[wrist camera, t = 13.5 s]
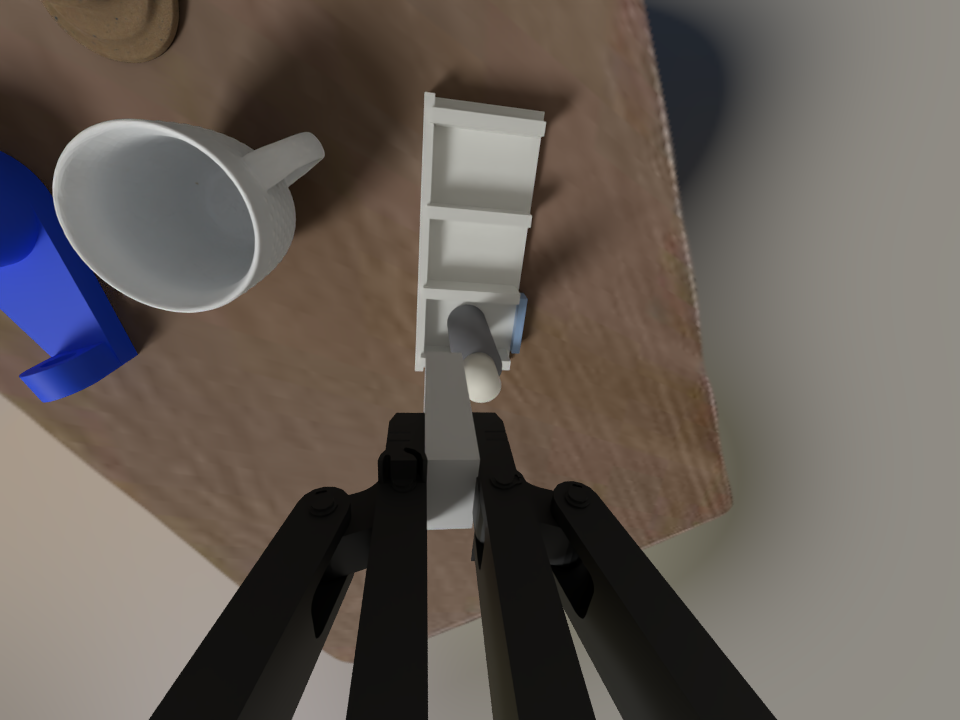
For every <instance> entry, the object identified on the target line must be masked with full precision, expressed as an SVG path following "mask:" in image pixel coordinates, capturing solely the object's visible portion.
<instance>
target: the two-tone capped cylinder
mask: <svg viewBox="0 0 960 720" xmlns="http://www.w3.org/2000/svg"><path fill="white" fill-rule="evenodd" d="M447 327H448V335H449V342H450V350H451V353H462V357H463V363H464V369H465V375H466V381H467V387H468V392H469V398H470V400H472V401H474V402H479V403H484V402H488V401H491V400H492V399H494V398H495V397H496V396H497V395H498V394H499V392H500V390H501V381H500V378H499V376H500V374H501V372H502V361H501V358H500V355H499V353H498V350H497V347H496V345H495V342H494V339H493V337H492V334H491V331H490V329H489V326H488V323H487V321H486V318H485V316H484V314H483V312H482V311H481V310H480V309H479V308H478V307H476V306H474V305H469V304H465V305H460V306H458V307H456V308H455V309H453V310H452V312H451V313H450V314H449V316H448V319H447Z"/></svg>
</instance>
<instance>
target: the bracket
mask: <svg viewBox="0 0 960 720" xmlns="http://www.w3.org/2000/svg"><path fill="white" fill-rule="evenodd" d="M0 309H1V310H2V311H3V312H4V313H5V314H6V315H7V316H8V317H10V318H11V319H12V320H13V321H14V322H15V323H16V324H17V325H18V326H19V327H20V328H21V329H22V330H23V331H24V332H25V333H27V334H28V335H29V336H30V337H31V338H32V339H33V340H34V341H35V342H36V343H37V344H38V345H39V346H40V347H41V348H42V349H44V350H45V351H46V352H47V353H48V354H49V355H50V356H51V358H49V359H47V360H45V361H43V362H41V363H40V364H38V365H36V366H34V367H32V368H30V369H28V370H26V371H25V372H23V373H22V374H20V375H19V377H20V378H21V379H22V380H23V381H24V383H25V384H26V385H27V386H28V387H29V388H30V389H31V390H32V391H33V392H34V393H35V395H36V396H37V397H38V398H39V399H40V400H41V401H42V402H50V401H54V400H58V399H61V398H63V397H66V396H69V395H71V394H74V393H76V392H78V391H81V390H83V389H85V388H87V387H89V386H91V385H93V384H94V383H96V382H98V381H100V380H101V379H103V378H104V377H105V376H107V375H108V374H110V373H111V372H113V371H114V370H116V369H117V368H119V367H120V366H122V365H123V364H125V363H126V362H128V361H129V360H131V359H132V358H134V357H135V356H137V355H138V354H137V352H136V350H135V348H134V346H133V345H132V343H131V341H130V339H129V337H128V335H127V333H126V332H125V330H124V328H123V326H122V324H121V322H120V321H119V319H118V317H117V315H116V313H115V311H114V310H113V308H112V306H111V304H110V302H109V300H108V298H107V297H106V295H105V293H104V291H103V289H102V287H101V286H100V284H99V282H98V280H97V278H96V276H95V274H94V273H93V271H92V270H91V269H90V268H89V267H88V265H87V264H86V263H85V262H84V261H83V260H82V259H81V258H80V256H79V255H78V254H77V252H76V251H75V250H74V249H73V247H72V245H71V244H70V242H69V241H68V239H67V237H66V235H65V234H64V231H63V229H62V227H61V225H60V223H59V220H58V217H57V214H56V211H55V206H54V201H53V197H52V195H51V194H50V192H49V191H48V189H47V188H46V187H45V185H44V184H43V183H42V182H41V181H40V179H39V178H38V177H37V176H36V175H35V174H34V173H33V172H32V171H30V170H29V169H28V168H27V167H26V166H24V165H23V164H22V163H20V162H19V161H17V160H16V159H14V158H13V157H11V156H9V155H7V154H5V153H4V152H1V151H0Z"/></svg>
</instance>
